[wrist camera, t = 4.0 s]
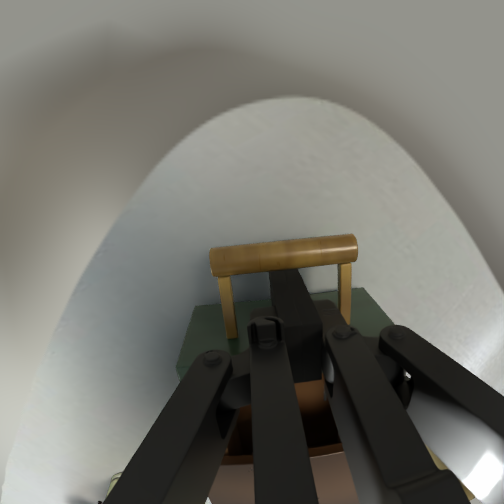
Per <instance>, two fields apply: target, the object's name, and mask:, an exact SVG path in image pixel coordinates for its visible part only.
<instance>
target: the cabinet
mask: <svg viewBox="0 0 504 504" xmlns="http://www.w3.org/2000/svg"><path fill="white" fill-rule="evenodd" d="M308 452H309V457H310V462H311V467H312V472H313V477H314V482H315V487H316V492H317V497H318V501H319V504H360V503H359V500H358V496H357V493H356V489H355V486H354V482H353V479H352V476H351V472H350V469H349V466H348V462H347V459H346V456H345V452H344V449H343V446H342V443H337V444H332V445H327V446H321V447H315V448H309V449H308ZM208 497H209V499H210V501H211V503H212V504H255V494H254V468H253V455H239V456H223V459H222V461H221V464H220V467H219V469H218V472H217V474H216V477H215V480H214V482H213V485H212V487H211V490H210V492H209V495H208Z"/></svg>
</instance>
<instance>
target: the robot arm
mask: <svg viewBox="0 0 504 504" xmlns="http://www.w3.org/2000/svg"><path fill="white" fill-rule="evenodd" d="M269 280H270V291H271V303H272V306H268V307H259V308H253V310H252V311H251V312H250V314H249V315H250V322H248V325H247V332H248V339H249V347H248V348H247V349H246V350H245V351H244V352H242V353H240V354H237V355H234V356H230V354H229V353H228V352H226V351H224V350H219V349H214V350H208V351H204V352H203V353H201V354H199V355H198V356H197V357H196V358H195V360H194V361H193V363H192V364H191V366H190V367H189V369H188V371H187V372H186V374H185V375H184V377H183V379H182V380H181V382H180V383H179V385H178V386H177V388H176V390H175V391H174V393H173V394H172V396H171V398H170V399H169V401H168V402H167V404H166V405H165V407H164V409H163V410H162V412H161V413H160V415H159V416H158V418H157V420H156V421H155V423H154V424H153V426H152V427H151V429H150V431H149V432H148V434H147V435H146V437H145V438H144V440H143V442H142V443H141V445H140V446H139V448H138V449H137V451H136V452H135V454H134V456H133V457H132V459H131V460H130V462H129V463H128V465H127V466H126V468H125V470H124V471H123V473H122V474H121V476H120V477H119V479H118V480H117V482H116V484H115V485H114V487H113V488H112V490H111V491H110V493H109V494H108V496H107V497H106V499H105V501H104V502H103V504H205V502H206V500H207V497H208V495H209V492H210V490H211V487H212V485H213V482H214V480H215V477H216V474H217V472H218V469H219V467H220V464H221V461H222V459H223V456H224V454H225V451H226V448H227V446H228V443H229V440H230V438H231V435H232V432H233V429H234V427H235V424H236V421H237V419H238V416H239V413H240V407H244V406H247V405H250V404H251V413H252V441H253V468H254V494H255V504H319V501H318V497H317V492H316V487H315V482H314V477H313V472H312V467H311V462H310V457H309V452H308V447H307V442H306V438H305V433H304V428H303V423H302V418H301V414H300V409H299V404H298V399H297V395H296V390H295V385H294V384H295V383H302V382H309V381H316V380H322V371H323V374H324V401H326V397H327V398H328V401H329V404H330V407H331V410H332V414H333V417H334V420H335V423H336V426H337V430H338V433H339V436H340V439H341V442H342V446H343V449H344V452H345V456H346V459H347V462H348V466H349V469H350V472H351V476H352V479H353V482H354V486H355V489H356V493H357V496H358V500H359V503H360V504H471V503H470V501H469V499H468V497H467V495H466V493H465V491H464V490H463V488H462V486H461V484H460V482H459V480H460V481H461V482H462V483H463V484H464V485H465V486H466V487H467V488H468V489H469V490H470V491H471V492H472V494H473V495H474V496H475V497H476V498H477V499H478V500H479V501H480V502H481V503H482V504H504V396H502V395H501V394H500V393H498V392H497V391H496V390H494V389H493V388H492V387H490V386H489V385H488V384H486V383H485V382H483V381H482V380H481V379H479V378H478V377H477V376H475V375H474V374H472V373H471V372H470V371H468V370H467V369H466V368H464V367H463V366H461V365H460V364H459V363H457V362H456V361H454V360H453V359H452V358H450V357H449V356H447V355H446V354H445V353H443V352H442V351H440V350H439V349H438V348H436V347H435V346H433V345H432V344H430V343H429V342H428V341H426V340H425V339H423V338H422V337H421V336H419V335H418V334H416V333H415V332H413V331H412V330H410V329H409V328H407V327H405V326H401V325H390V326H386V327H384V328H383V329H382V330H381V331H380V336H379V337H375V336H362V335H361V333H360V332H359V330H358V329H357V328H355V327H353V326H350V325H348V324H347V323H346V321H345V319H344V317H343V316H342V314H341V313H340V311H339V309H338V307H337V306H336V304H335V303H334V302H333V301H331V300H329V299H321V300H313V301H312V298H311V296H310V294H309V292H308V290H307V288H306V286H305V284H304V281H303V279H302V277H301V275H300V273H299V271H298V269H297V268H296V269H287V270H278V271H269ZM406 371H407V372H408V373H409V374H410V375H411V378H408V377H407V376H406ZM424 443H425V444H424ZM425 445H426V446H427V447H428V448H429V449H430V450H431V451H432V452H433V453H434V454H435V455H436V456H437V457H438V458H439V459H440V460H441V461H442V462H443V463H444V464H445V465H446V466H447V468H448V469H444V470H440V469H439V468H438V467H437V466H436V464H435V463H434V461H433V459H432V457H431V455H430V453H429V451H428V449H427V447H426V446H425ZM458 479H459V480H458Z"/></svg>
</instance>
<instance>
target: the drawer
mask: <svg viewBox="0 0 504 504" xmlns="http://www.w3.org/2000/svg"><path fill="white" fill-rule="evenodd" d="M357 257H358V245H357V241H356V238H355V236H354V235H353V234H343V235H333V236H322V237H312V238H302V239H292V240H283V241H273V242H263V243H253V244H244V245H234V246H225V247H215V248H210V252H209V259H210V268H211V273H212V275H213V277H218V285H219V291H220V298H221V304H213V305H201V306H195V308H194V311H193V314H192V317H191V320H190V323H189V326H188V329H187V333H186V336H185V339H184V342H183V345H182V349H181V352H180V355H179V358H178V361H177V365H176V371H177V374H178V377H179V381H180V382H181V380H182V379H183V377H184V375H185V374H186V372H187V371H188V369H189V367H190V366H191V364H192V363H193V361H194V360H195V358H196V357H197V356H198V355H199V354H201V353H203V352H204V351H208V350H214V349H219V350H224V351H226V352H228V353H229V354H230V356H234V355H237V354H240V353H242V352H244V351H245V350H246V349H247V348H248V347H249V339H248V332H247V325H248V322H250V315H249V314H250V312H251V311H252V310H253V308H259V307H268V306H272V303H271V299H266V300H256V301H246V302H236V303H234V297H233V290H232V283H231V275H239V274H249V273H259V272H268V271H278V270H287V269H296V268H305V267H314V266H323V265H332V264H338V291H333V292H326V293H318V294H310V296H311V298H312V301H313V300H321V299H329V300H331V301H333V302H334V303H335V304H336V306H337V307H338V309H339V311H340V313H341V314H342V316H343V317H344V319H345V321H346V323H347V324H348V325H350V326H353V327H355V328H357V329H358V330H359V332H360V333H361V335H362V336H375V337H379V336H380V331H381V330H382V329H383V328H384V327H386V326H390V325H395V324H394V323H393V322H392V321H391V319H390V318H389V317H388V316H387V315H386V313H385V312H384V311H383V310H382V309H381V308H380V306H379V305H378V304H377V303H376V302H375V301H374V299H373V298H372V297H371V296H370V295H369V294H368V292H367V291H366V290H365V289H364V288H355V289H351V263H350V262H355V261H356V260H357ZM294 385H295V390H296V395H297V399H298V404H299V409H300V414H301V418H302V423H303V428H304V433H305V438H306V442H307V447H308V449H309V448H315V447H321V446H327V445H332V444H337V443H342V442H341V439H340V436H339V433H338V430H337V426H336V423H335V420H334V417H333V414H332V410H331V407H330V404H329V401H328V398H327V397H326V401H324V374H323V371H322V380H316V381H309V382H302V383H295V384H294ZM239 455H253V441H252V413H251V404H250V405H247V406H244V407H240V413H239V416H238V419H237V421H236V424H235V427H234V429H233V432H232V435H231V438H230V440H229V443H228V446H227V448H226V451H225V454H224V456H239Z"/></svg>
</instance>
